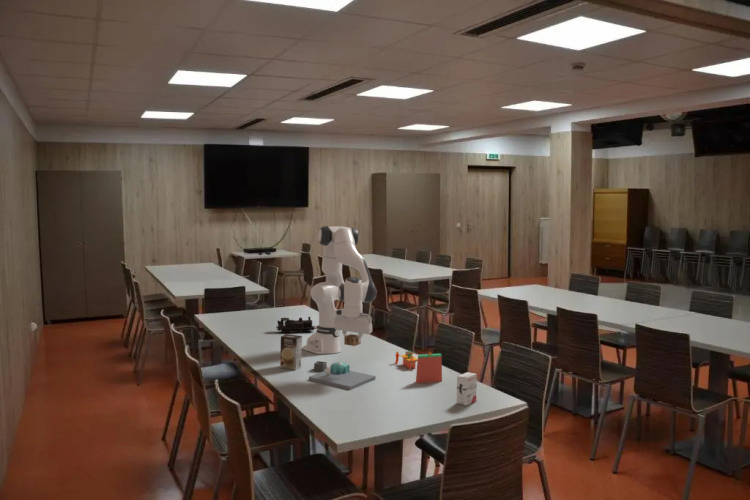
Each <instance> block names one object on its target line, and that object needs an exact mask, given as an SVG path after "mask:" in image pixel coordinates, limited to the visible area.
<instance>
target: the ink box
mask: <svg viewBox="0 0 750 500" xmlns="http://www.w3.org/2000/svg"><path fill="white" fill-rule="evenodd" d="M477 375H478V374H477V373H473V372H464V373H462V374H460V375H457V377H456V404H459V405H463V406H469V405H470V404H473V403H475V402H477V386H478V385H477V383H478V382H477V381H478V380H477V379H478V377H477Z"/></svg>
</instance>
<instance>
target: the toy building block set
mask: <svg viewBox="0 0 750 500" xmlns="http://www.w3.org/2000/svg"><path fill="white" fill-rule="evenodd" d="M404 353H405V354H399V351H396V352H395V362H394V363H395V364H397V365H398V363H399V357H400V356H401V357H402V365H404V366H405V367H406V368H407V369H409V370H411V369H413V370H416V374H415V382H416V383H417V384H421V383H422V384H424V383H437V382H442V381H443V364H442V363H443V361H442V358H443V356H442V355H443V354H442V353H431V351H429V352H428V353H425V354H417V357H415V356H414V354H415V352H413V351H411V350H407V351H406V350H405V351H404ZM416 362H417V364H416Z"/></svg>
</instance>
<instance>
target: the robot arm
mask: <svg viewBox="0 0 750 500" xmlns="http://www.w3.org/2000/svg"><path fill="white" fill-rule="evenodd" d="M359 233H360V232H359V231H358V229H357V228H355V227H352V226H351V227H349V226H342V225H336V226H332V225H331V226H328V225H326V226H325V225H324V226H321V227H320V228H319V230H318V234H317V239H318V243H319V244H320V245H322V246H324V248H323V252H322V259H321V260H322V262H321V270H322V272H323V274H324V275H325V276H324V277H325V281H324V282H319V283H317V284H315V285H313V286H312V288H311V289H310V297H311V299H312V300H313V301H314V302H315V304H316V306H317V309H318V325H317V326H316V325H315V326H316V328H315V329H314V330H315V332H314V333H312V334H311V335H310V336H308V338H307V340H306V344H305V345H303V346H302V350H304V351H307V352H310V353H314V354H317V355H323V354H324V355H327V354H331V355H332V354H338V353H341V352H342V347H341V343H340V332H341V331H342V335H343V336H344V337H345V336H346V335H348V332H352V333H358V334H357V335H359V337H358V338H357V342H361V343H362V337H363V336H364V335H370V334H371V333H373V323H372V321H373V319H372V316H371V315H370V314H369V313H363V303H366V304H367V303H368V304H370V303H372V302H373V301H374V300H375V299H376V298H377V288H376V285H375V283H374V281H373V278H372V276H371V273H370V270H369V267H368V265H367V262H366V259H365V258H364V257H365V256H364V255H362V254H360V253H359V252H358V249H357V247H356V245H358V243H359V240H360V234H359ZM343 265H344V266H348V267H350V268H354V269H355V270H357V271H358V272H359V275H360V277H356V276H350V277H347V278H346V279H345V281H344V278H343V277H344V276H343ZM338 300H339V301H342V302H343V303H344V304H343V307H341V308H339V309H337V308H336V307H335V301H338ZM344 337H343V338H344Z"/></svg>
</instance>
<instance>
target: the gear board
mask: <svg viewBox="0 0 750 500" xmlns="http://www.w3.org/2000/svg"><path fill="white" fill-rule="evenodd" d="M375 380H376V375H371V374H368V373H363V372H359V371H353V370H350V364H348V363H346V362H342V361H340V362H339V361H337V362H333V363H332V364H330V365H329V366H327V367H326V370H325V371H323V372H321V371H320V372H318V373H315V374H313V375H310V376H308V381H312V382H316V383H320V384H324V385H328V386H333V387H336V388H340V389H345V390H348V391H351V390H353V389H355V388H358V387H360V386H363V385H365V384H368V383H370V382H373V381H375Z"/></svg>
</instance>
